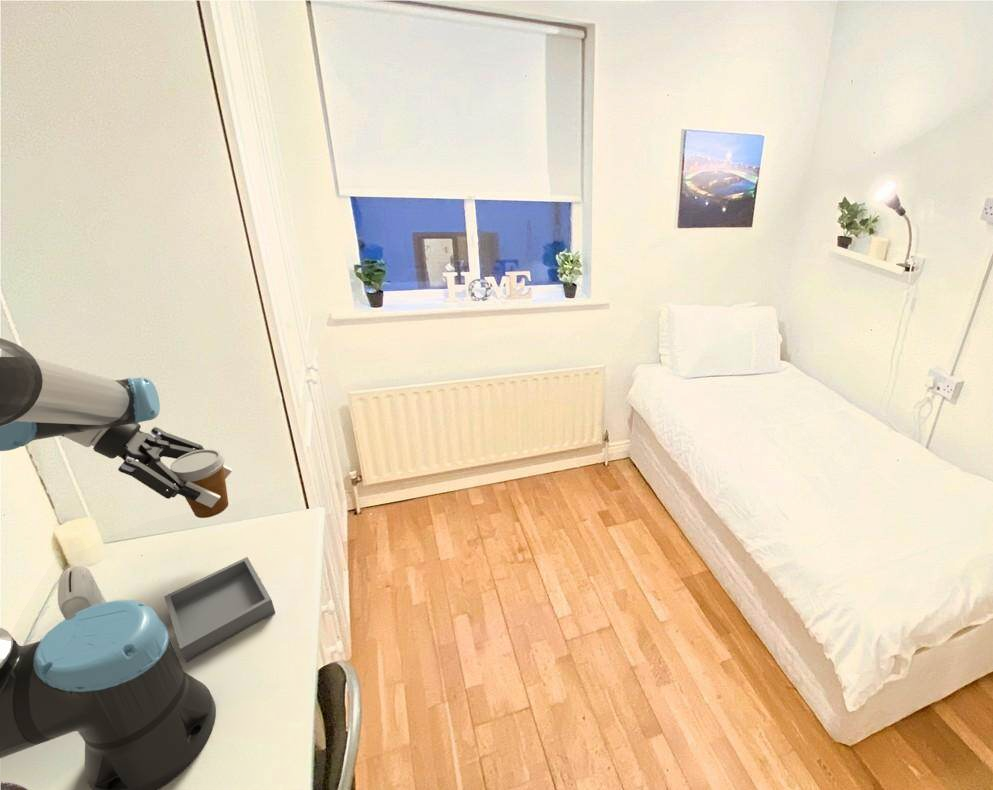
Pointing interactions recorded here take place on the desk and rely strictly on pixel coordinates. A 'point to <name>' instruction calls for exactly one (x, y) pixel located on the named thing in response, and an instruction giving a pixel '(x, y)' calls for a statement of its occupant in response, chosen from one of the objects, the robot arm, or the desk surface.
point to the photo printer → (77, 591)
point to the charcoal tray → (217, 607)
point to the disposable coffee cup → (203, 478)
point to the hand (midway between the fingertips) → (222, 487)
